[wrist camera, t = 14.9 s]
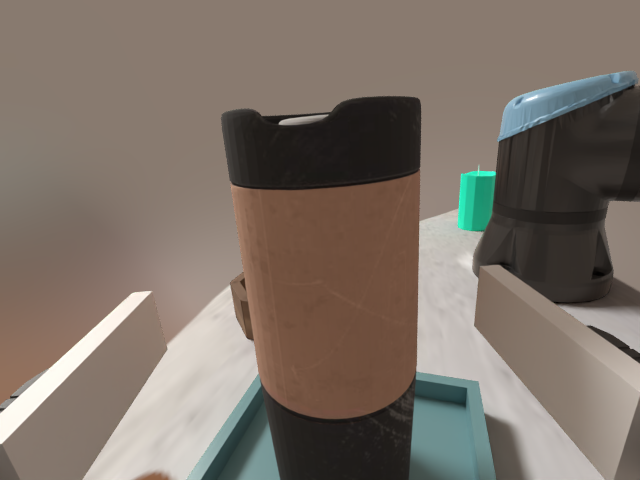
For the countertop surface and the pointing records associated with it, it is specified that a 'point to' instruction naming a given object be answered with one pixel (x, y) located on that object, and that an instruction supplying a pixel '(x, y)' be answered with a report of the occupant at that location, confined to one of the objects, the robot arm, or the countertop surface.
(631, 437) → the robot arm
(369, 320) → the travel mug
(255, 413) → the slate tray
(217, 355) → the countertop surface
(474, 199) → the candle
